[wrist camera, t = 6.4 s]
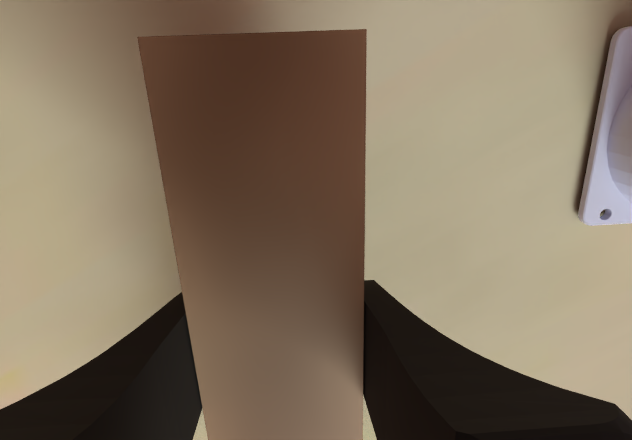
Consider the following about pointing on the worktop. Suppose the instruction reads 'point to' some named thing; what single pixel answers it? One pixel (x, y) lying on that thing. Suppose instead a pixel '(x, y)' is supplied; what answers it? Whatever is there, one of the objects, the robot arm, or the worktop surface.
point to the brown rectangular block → (267, 223)
